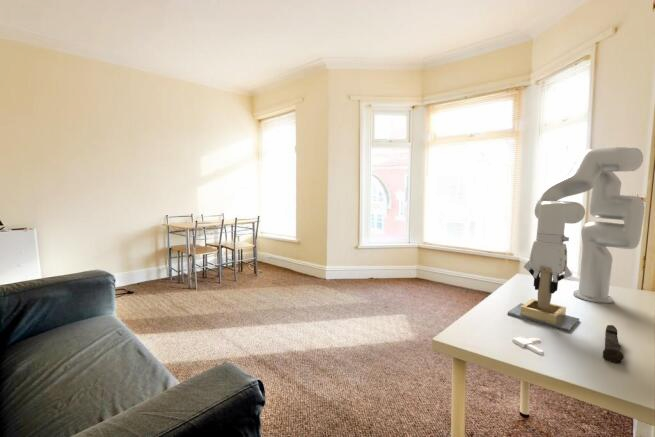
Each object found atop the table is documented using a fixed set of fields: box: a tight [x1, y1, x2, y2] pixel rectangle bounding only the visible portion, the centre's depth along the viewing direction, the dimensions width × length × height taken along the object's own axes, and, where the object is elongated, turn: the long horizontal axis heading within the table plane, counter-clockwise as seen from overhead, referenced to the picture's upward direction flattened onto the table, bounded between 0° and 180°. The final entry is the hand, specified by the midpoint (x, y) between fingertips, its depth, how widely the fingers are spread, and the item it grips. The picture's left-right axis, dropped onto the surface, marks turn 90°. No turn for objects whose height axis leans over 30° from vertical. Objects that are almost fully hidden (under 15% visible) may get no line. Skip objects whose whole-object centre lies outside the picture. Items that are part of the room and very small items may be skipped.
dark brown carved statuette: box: [602, 324, 625, 365], centre depth 90 cm, size 19×4×5 cm, turn 137°
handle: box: [537, 266, 553, 309], centre depth 110 cm, size 5×6×15 cm
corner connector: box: [511, 336, 544, 355], centre depth 92 cm, size 8×8×2 cm
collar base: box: [507, 298, 580, 333], centre depth 111 cm, size 13×18×4 cm
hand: (544, 290), depth 110 cm, fingers closed on handle, 3 cm apart
